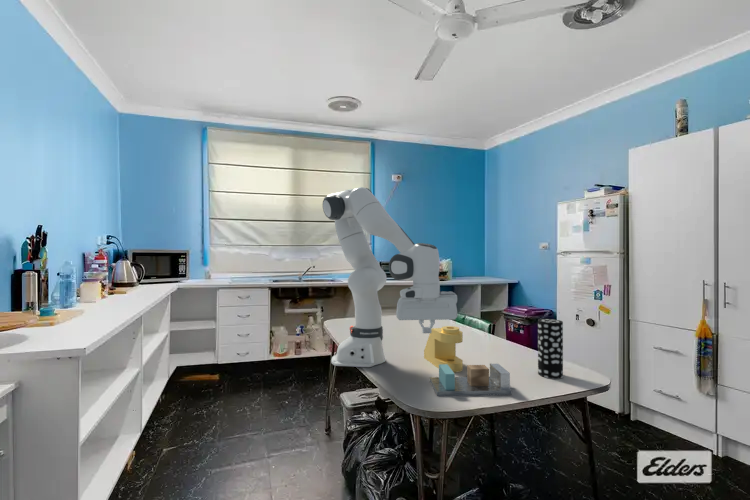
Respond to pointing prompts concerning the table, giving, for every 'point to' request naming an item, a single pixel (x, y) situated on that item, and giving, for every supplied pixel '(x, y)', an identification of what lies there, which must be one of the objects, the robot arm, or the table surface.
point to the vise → (497, 386)
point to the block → (478, 375)
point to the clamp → (444, 347)
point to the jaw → (447, 377)
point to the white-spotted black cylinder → (550, 348)
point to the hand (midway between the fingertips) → (426, 333)
